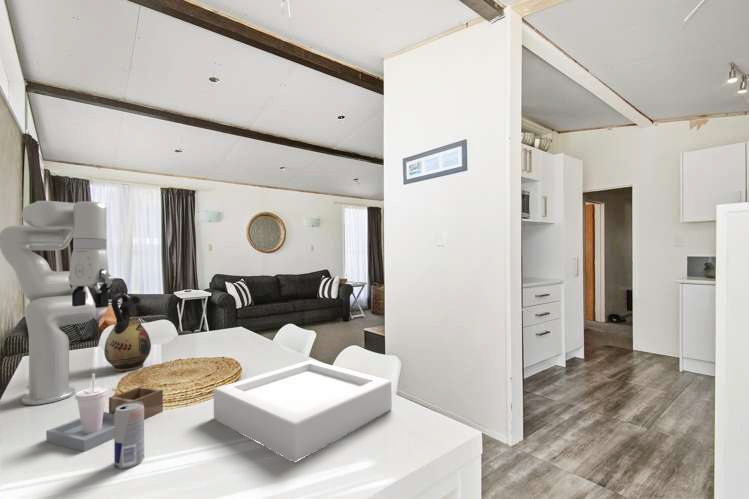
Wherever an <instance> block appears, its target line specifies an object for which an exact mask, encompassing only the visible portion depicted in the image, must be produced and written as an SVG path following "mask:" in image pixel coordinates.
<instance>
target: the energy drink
mask: <svg viewBox="0 0 749 499" xmlns="http://www.w3.org/2000/svg"><path fill="white" fill-rule="evenodd" d="M113 440H114V445H113V446H114V450H113V451H114V452H113V453H114V456H113V457H114V458H113V461H114V467H115V468H117V469H121V470H123V469H129V468H133V467H135V466H137V465H140V463H142V462H143V461H144V459H145V420H144V406H143V403H142V402H129V403H125V404H122V405H120V406H118V407H117V408H116V410H115V413H114V438H113Z"/></svg>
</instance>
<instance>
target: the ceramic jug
mask: <svg viewBox="0 0 749 499" xmlns="http://www.w3.org/2000/svg"><path fill="white" fill-rule="evenodd" d="M120 300H121V301H122V302H121V304H120V306H119V304H118V303H119V301H120ZM140 303H141V298H140V297H138V296H137V295H133V296H131V297H130V296H128V295H127V294H125V293H116V294H114V295H113V296H112V297H111V303H110V304H111V308H112V311H113V314H114V317H115V319H116V323H115V324H114V326H113V327H112V329H111V331H110V332H109V334H108V336H107V337H106V340H105V344H104V349H103V350H104V351H103V353H104V357H105V359H106V361H107V362H108V363H109V364H110V365H111V366H112V367H114V371H115V372H123V371H132V370H137V369H141V368H143V367H142V366H144V363H145V361H146V360H147V358H148V357H149V356H150V354H151V350H152V343H151V339H150V336H149V333H148V331H147V330H146V329H145V327H144V326H143V325H142V323H140V321H139V320H138V319H137V318H136V317H135V315H133V312H132V309H133V308H134V307H135V306H137V305H138V304H140ZM140 367H141V368H140Z"/></svg>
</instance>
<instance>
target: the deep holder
mask: <svg viewBox="0 0 749 499" xmlns="http://www.w3.org/2000/svg"><path fill="white" fill-rule="evenodd" d="M163 392H164V390H163V389H158V388H151V387H147V386H137V387H134V388H132V389H130V390H127V391H124V392H122V393H119V394H115V395H113V396H109V397H108V413H111V414H114V413H115V410H116V408H117V407H118V406H120V405H122V404H125V403H129V402H142V403H143V406H144V421H145V420H147V419H149V418H152V417H153V416H156V415H158V414H160V413H163V412H164V411H163V410H164V403H163V402H164V400H163V398H164V396H163V395H164V393H163Z"/></svg>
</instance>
